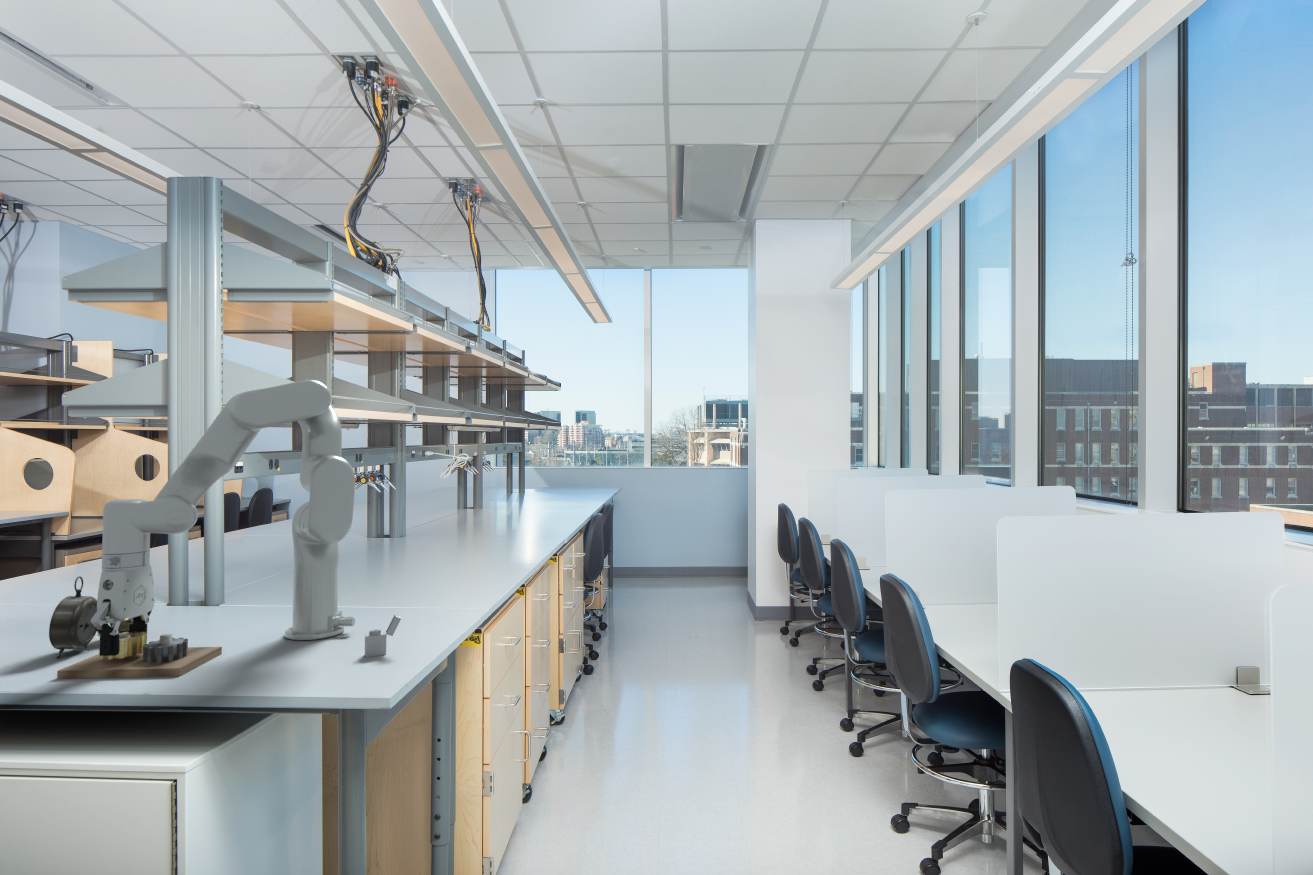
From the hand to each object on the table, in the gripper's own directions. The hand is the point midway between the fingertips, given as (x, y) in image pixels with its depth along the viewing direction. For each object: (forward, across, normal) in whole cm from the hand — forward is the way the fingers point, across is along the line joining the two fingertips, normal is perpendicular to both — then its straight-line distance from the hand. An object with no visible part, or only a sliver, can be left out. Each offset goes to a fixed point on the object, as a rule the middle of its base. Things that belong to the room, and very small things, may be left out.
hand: (123, 648), depth 132 cm
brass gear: (+1, 0, 0) cm, 1 cm away
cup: (+4, +22, +14) cm, 26 cm away
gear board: (+4, 0, -4) cm, 5 cm away
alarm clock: (+4, +10, +16) cm, 19 cm away
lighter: (+4, +5, -49) cm, 49 cm away
